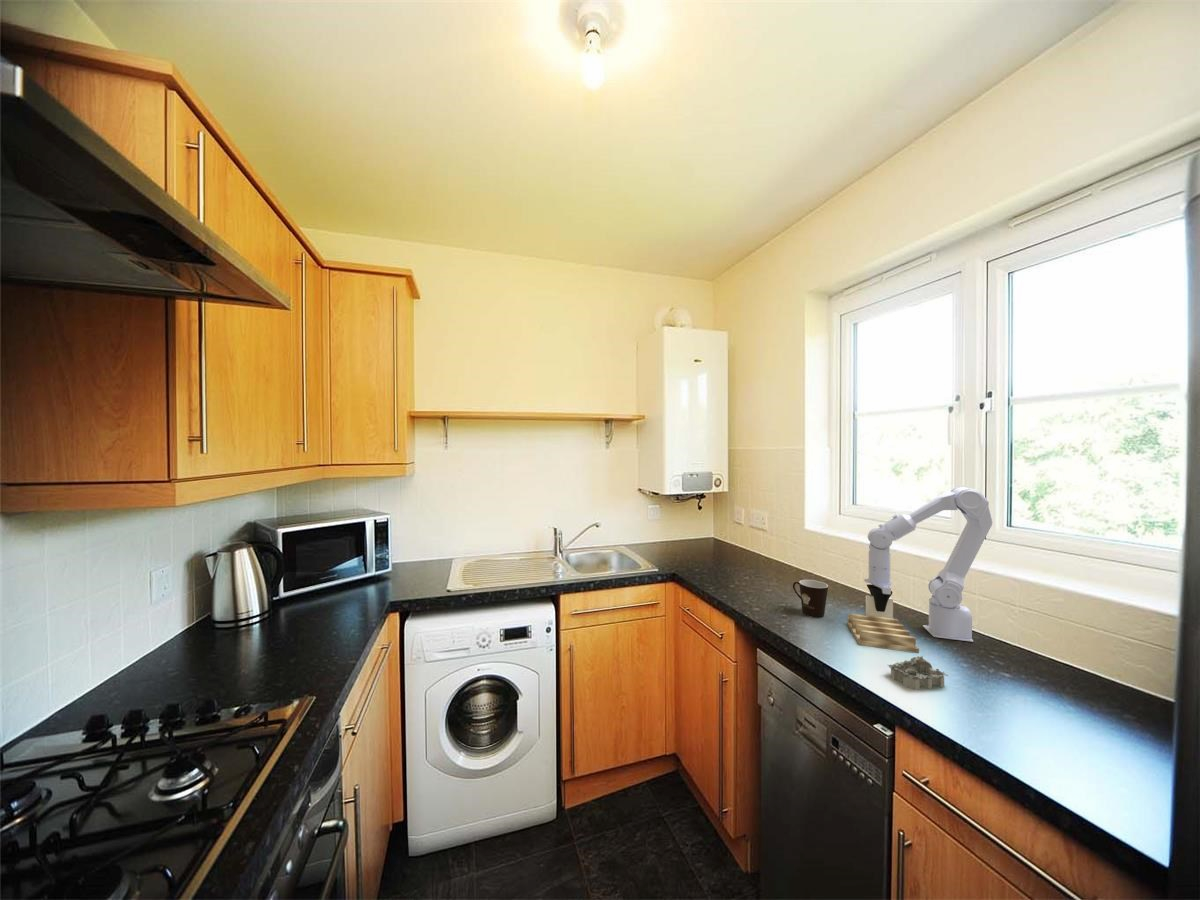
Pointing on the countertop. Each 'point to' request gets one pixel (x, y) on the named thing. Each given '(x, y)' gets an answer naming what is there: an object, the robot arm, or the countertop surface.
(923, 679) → the ruined castle model
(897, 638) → the dish rack
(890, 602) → the white block
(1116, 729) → the countertop surface
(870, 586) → the robot arm
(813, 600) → the coffee mug
